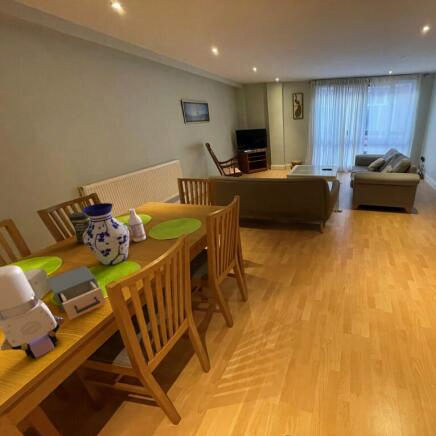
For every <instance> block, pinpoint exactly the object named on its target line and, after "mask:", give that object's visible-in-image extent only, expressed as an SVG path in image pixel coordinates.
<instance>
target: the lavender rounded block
mask: <svg viewBox="0 0 436 436" xmlns="http://www.w3.org/2000/svg"><path fill="white" fill-rule="evenodd" d="M28 344H29V346H30V349H31V351H32V352H33V354H34V356H35V357H34V358H36V359H38V358H40V357H41V356H44V355H45V354H47V353H49V352H51V351H53V350H55V348H56V347H54V346H53V344H52V342H51V340H50V338H49V336H48V333H45V334H43V335H41V336H39V337H37V338H35V339H33V340H31V341H29V342H28Z"/></svg>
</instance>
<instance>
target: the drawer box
mask: <svg viewBox="0 0 436 436" xmlns="http://www.w3.org/2000/svg"><path fill="white" fill-rule="evenodd" d="M47 281H48V283H49V285H50V287H51V289H52V290H51V292H52V294H53V296H54V298H55V299H56V301H57V304H58V305H59V308H60V309H61V311H62V312H63V313H65V312H66V311H65V309H64V307H63V305H62V303H63V301H62V299H61V296H60V294H59V293H62V292H64V291H67V290H69V289H72V288H74V287H77V286H79V285H82V284H84V283H87V282H89V281H92V282H93V283H94V284H95V285H96V287H97V288H99V287H100V286H99V284H98V281H97V279H96V277H95V275H94V274H93V273H92V272H91V271H90V269H88V267H87V266H86V265H81V266H79V267H75V268H72V269H69V270H67V271H65V272H61V273H59V274H56V275H53V276H51V277H49V278H48V279H47Z"/></svg>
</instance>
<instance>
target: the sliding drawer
mask: <svg viewBox="0 0 436 436" xmlns="http://www.w3.org/2000/svg"><path fill="white" fill-rule="evenodd" d="M59 294H60V296H61V299H62V301H63V303H62V305H63V307H64V309H65V311H64V312H65V314H66V315H67V317H68V320H69V321H72V320H74V319H75V318H78V317H80V316H82V315H85V314H87V313H88V312H90V311H93V310H95V309H96V308H98V307H101V306H103V305H105V304H106V303H107V301H106V298H105V295H104V292H103V290H102V288H101V287H100V286H99V288H97V287H96V285H95V284H94V283H93V282H92V281H89V282H87V283H84V284H82V285H79V286H77V287H74V288H72V289H69V290H67V291H64V292H62V293H59Z"/></svg>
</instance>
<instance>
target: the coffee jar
mask: <svg viewBox="0 0 436 436" xmlns="http://www.w3.org/2000/svg"><path fill="white" fill-rule="evenodd" d="M68 218H69V219H68V220H69V222H70V223H71V224H72V226H73V229H74V232H75V237H76V240H77V243H79V244H85V243H84V241H83V234H84V232H85V231H86V229H87V228H88V226H89V224H90V218H89V216H88V215H87V214H86V213H85V212H83V211H79V212H72V213H70V214H69V215H68Z"/></svg>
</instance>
